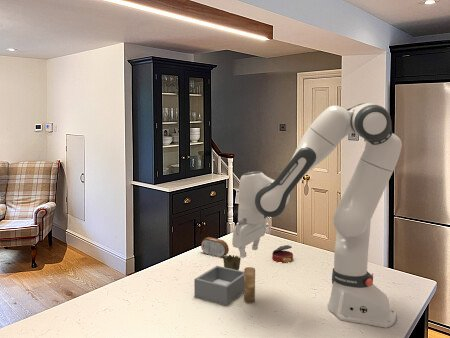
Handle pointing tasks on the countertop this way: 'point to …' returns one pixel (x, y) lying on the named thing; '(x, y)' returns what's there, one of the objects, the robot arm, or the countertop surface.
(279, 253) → the canned food
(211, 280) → the socket box
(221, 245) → the tin
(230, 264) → the ornate bronze lampshade
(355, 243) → the robot arm
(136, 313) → the countertop surface
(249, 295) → the oak peg
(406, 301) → the countertop surface
